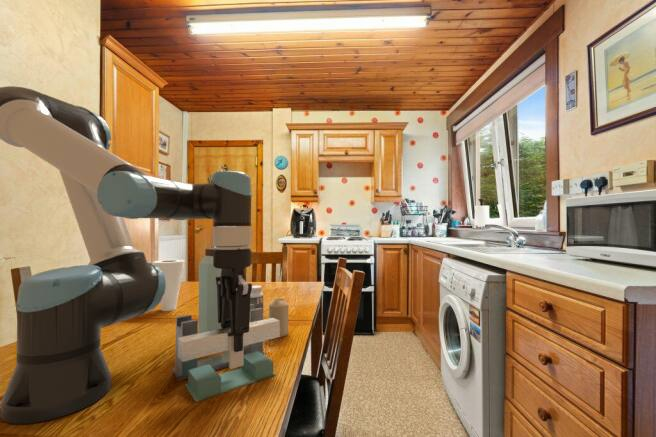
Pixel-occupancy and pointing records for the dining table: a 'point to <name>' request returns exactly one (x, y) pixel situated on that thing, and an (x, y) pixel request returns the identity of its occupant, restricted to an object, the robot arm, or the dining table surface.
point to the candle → (280, 314)
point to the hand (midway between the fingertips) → (232, 363)
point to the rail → (225, 339)
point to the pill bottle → (256, 296)
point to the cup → (171, 282)
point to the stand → (190, 327)
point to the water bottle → (208, 293)
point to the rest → (228, 376)
